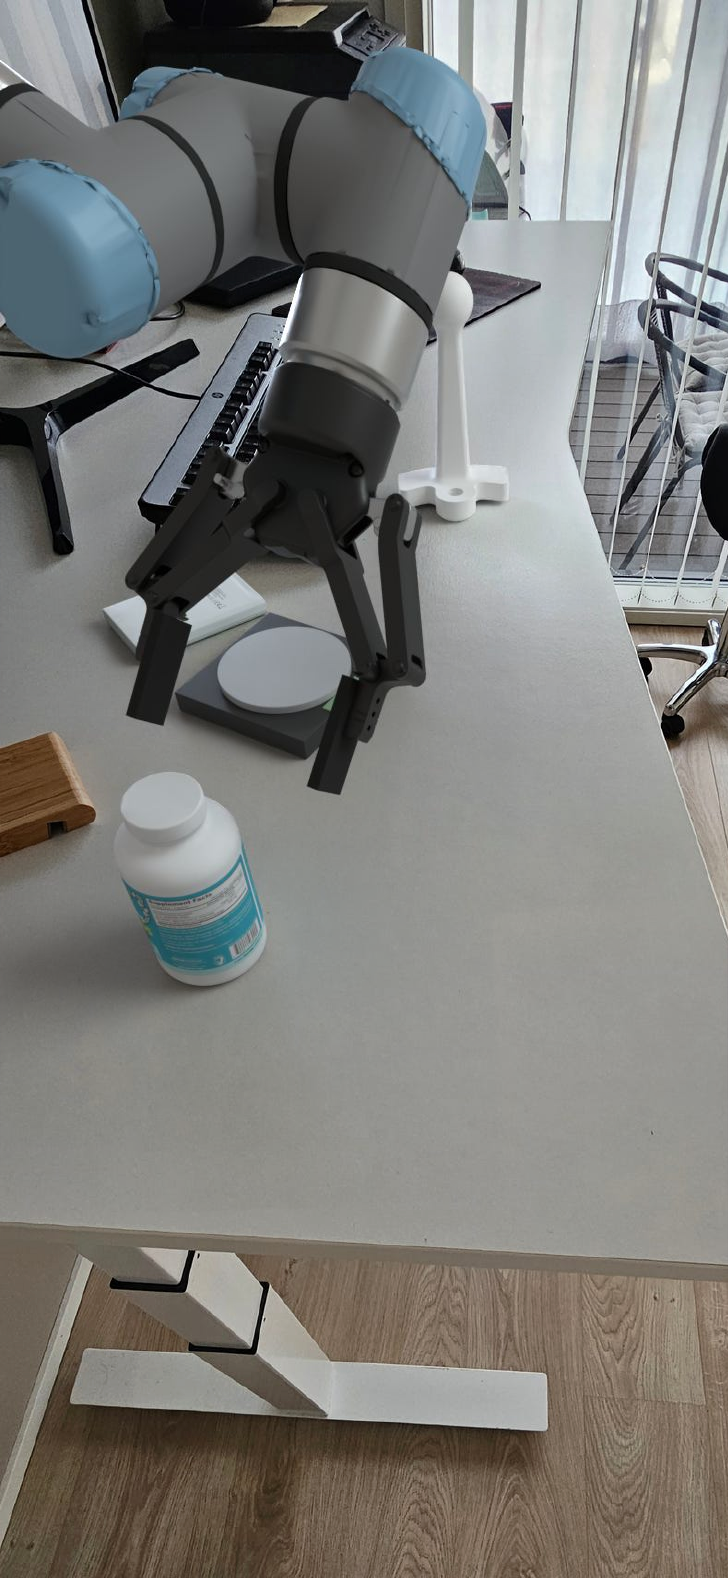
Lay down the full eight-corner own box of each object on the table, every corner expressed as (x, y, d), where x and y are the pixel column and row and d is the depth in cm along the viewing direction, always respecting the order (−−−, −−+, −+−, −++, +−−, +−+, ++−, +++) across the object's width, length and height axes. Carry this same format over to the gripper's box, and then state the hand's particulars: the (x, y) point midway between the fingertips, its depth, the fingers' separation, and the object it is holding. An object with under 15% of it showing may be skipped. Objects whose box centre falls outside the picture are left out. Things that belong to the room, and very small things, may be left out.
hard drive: (106, 623, 90) (227, 576, 94) (143, 666, 86) (268, 615, 90) (100, 607, 89) (223, 560, 93) (138, 649, 85) (265, 598, 89)
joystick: (504, 483, 103) (507, 259, 88) (512, 519, 99) (518, 291, 83) (398, 490, 103) (383, 268, 88) (402, 527, 99) (386, 299, 83)
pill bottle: (167, 906, 68) (108, 756, 58) (273, 903, 68) (234, 751, 58) (149, 994, 64) (82, 847, 53) (263, 990, 64) (218, 843, 53)
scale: (179, 710, 82) (171, 685, 80) (272, 629, 89) (268, 604, 87) (306, 759, 78) (302, 734, 76) (395, 670, 84) (392, 645, 82)
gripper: (559, 464, 55) (433, 828, 59) (207, 382, 63) (117, 705, 67) (517, 401, 48) (377, 818, 52) (127, 318, 56) (33, 682, 60)
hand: (230, 755), depth 59 cm, fingers open, 13 cm apart
